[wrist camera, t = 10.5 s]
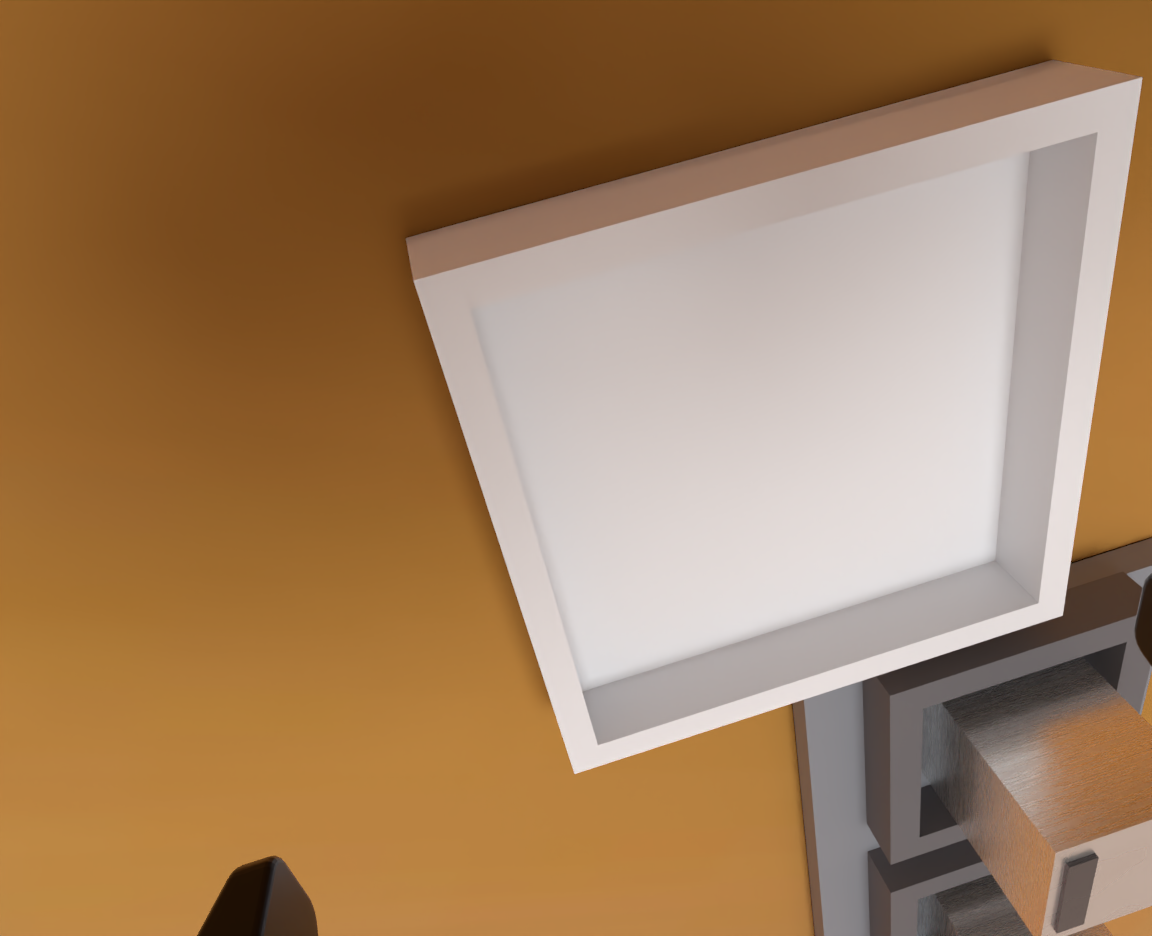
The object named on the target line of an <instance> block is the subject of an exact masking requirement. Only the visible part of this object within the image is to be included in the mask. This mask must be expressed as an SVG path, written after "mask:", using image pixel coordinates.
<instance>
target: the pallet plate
mask: <svg viewBox="0 0 1152 936" xmlns="http://www.w3.org/2000/svg"><path fill="white" fill-rule="evenodd" d="M1151 573H1152V538H1150V539H1147V540H1144V541H1141V542H1138V543H1134V544H1131V545H1128V546H1125V547H1122V548H1119V549H1116V550H1113V551H1109V552H1106V553H1103V554H1100V555H1097V556H1094V557H1091V558H1088V559H1084V560H1081V561H1078V562H1075V563H1072V564H1070V570H1069V577H1068V584H1067V590H1066V597H1065V604H1064V611H1063V616H1060V617H1057V618H1054V619H1051V620H1048V621H1045V622H1041V623H1038V624H1035V625H1032V626H1029V627H1026V628H1023V629H1020V630H1017V631H1014V632H1011V633H1008V634H1004V635H1001V636H998V637H995V638H992V639H989V640H986V641H983V642H980V643H977V644H974V645H971V646H968V647H964V648H961V649H958V650H955V651H952V652H949V653H946V654H943V655H940V656H937V657H934V658H931V659H927V660H924V661H921V662H918V663H915V664H912V665H909V666H906V667H903V668H900V669H897V670H894V671H890V672H887V673H884V674H881V675H878V676H875V677H872V678H869V679H866V680H863V681H860V682H857V683H854V684H850V685H847V686H844V687H841V688H838V689H835V690H832V691H829V692H826V693H823V694H820V695H817V696H813V697H810V698H807V699H804V700H801V701H798V702H795V703H792V704H793V714H794V725H795V735H796V745H797V756H798V766H799V776H800V786H801V797H802V807H803V817H804V828H805V838H806V848H807V858H808V869H809V879H810V889H811V900H812V910H813V920H814V931H815V936H919V934H918V932H917V911H918V899H921V898H923V897H926V896H929V895H932V894H935V893H938V892H941V891H944V890H947V889H950V888H952V887H955V886H958V885H961V884H964V883H967V882H970V881H973V880H976V879H979V878H981V877H984V876H987V875H990V874H991V873H990V871H989V870H988V868H987V867H986V866H985V864H984V863H983V861H982V860H981V858H980V857H979V855H978V854H977V852H976V851H975V849H974V848H973V846H972V845H971V843H970V842H969V840H968V839H967V837H966V836H965V834H964V833H963V832H962V830H961V829H960V827H959V826H958V824H957V823H956V821H955V820H954V818H953V817H952V815H951V814H950V812H949V811H948V809H947V808H946V806H945V805H944V803H943V802H942V800H941V799H940V798H939V796H938V795H937V793H936V792H935V790H934V789H933V787H932V786H931V784H930V783H929V781H928V780H927V778H926V777H925V775H924V774H923V772H922V771H921V766H922V730H923V709H924V708H927V707H930V706H933V705H936V704H939V703H942V702H945V701H948V700H951V699H954V698H957V697H960V696H963V695H967V694H970V693H973V692H976V691H979V690H982V689H985V688H988V687H991V686H994V685H997V684H1000V683H1003V682H1006V681H1009V680H1012V679H1015V678H1018V677H1021V676H1024V675H1027V674H1030V673H1033V672H1036V671H1040V670H1043V669H1046V668H1049V667H1052V666H1055V665H1058V664H1061V663H1064V662H1067V661H1070V660H1073V659H1076V658H1079V657H1083V658H1084V659H1085V660H1086V661H1087V662H1088V663H1089V664H1090V665H1091V666H1092V667H1093V668H1094V669H1095V670H1096V671H1097V672H1098V673H1099V674H1100V675H1101V676H1102V677H1103V678H1104V679H1105V680H1106V681H1107V682H1108V683H1109V684H1110V685H1111V686H1112V687H1113V688H1114V689H1115V690H1116V691H1117V692H1118V693H1119V694H1120V695H1121V696H1122V697H1123V698H1124V699H1125V700H1126V701H1127V702H1128V703H1129V704H1130V705H1131V706H1132V707H1133V708H1134V709H1135V710H1136V711H1137V712H1138V713H1139V714H1140V715H1141V713H1142V709H1143V705H1144V701H1145V697H1146V692H1147V688H1148V684H1149V680H1150V676H1151V671H1152V666H1151V665H1150V664H1149V662H1148V661H1147V660H1146V658H1145V657H1144V656H1143V654H1142V652H1141V651H1140V649H1139V647H1138V645H1137V642H1136V639H1135V635H1134V625H1135V620H1136V616H1137V611H1138V606H1139V602H1140V597H1141V592H1142V588H1143V584H1144V581H1145V579H1146V577H1147V576H1148V575H1149V574H1151Z"/></svg>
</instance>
